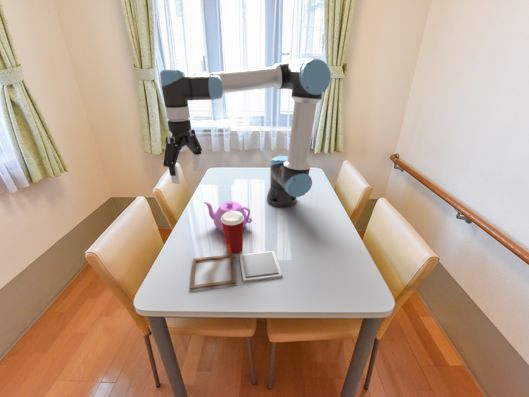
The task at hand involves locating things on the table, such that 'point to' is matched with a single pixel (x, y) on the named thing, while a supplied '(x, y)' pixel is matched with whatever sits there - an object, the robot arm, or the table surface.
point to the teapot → (225, 208)
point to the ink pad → (259, 266)
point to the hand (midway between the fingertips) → (187, 176)
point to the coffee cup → (233, 231)
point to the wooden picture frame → (212, 272)
